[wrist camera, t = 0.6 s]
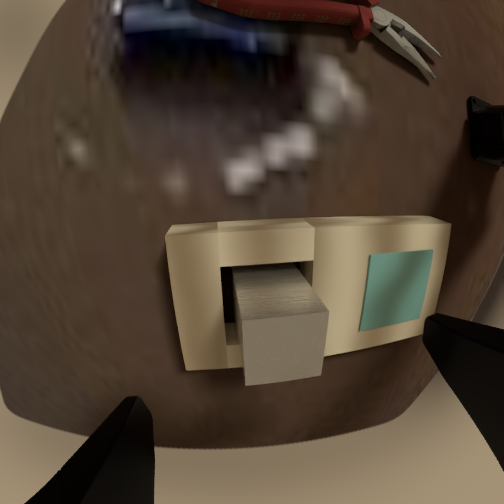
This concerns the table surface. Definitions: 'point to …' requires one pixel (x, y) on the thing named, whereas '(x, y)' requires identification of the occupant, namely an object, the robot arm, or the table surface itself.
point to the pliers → (339, 21)
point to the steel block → (278, 323)
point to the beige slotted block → (311, 277)
